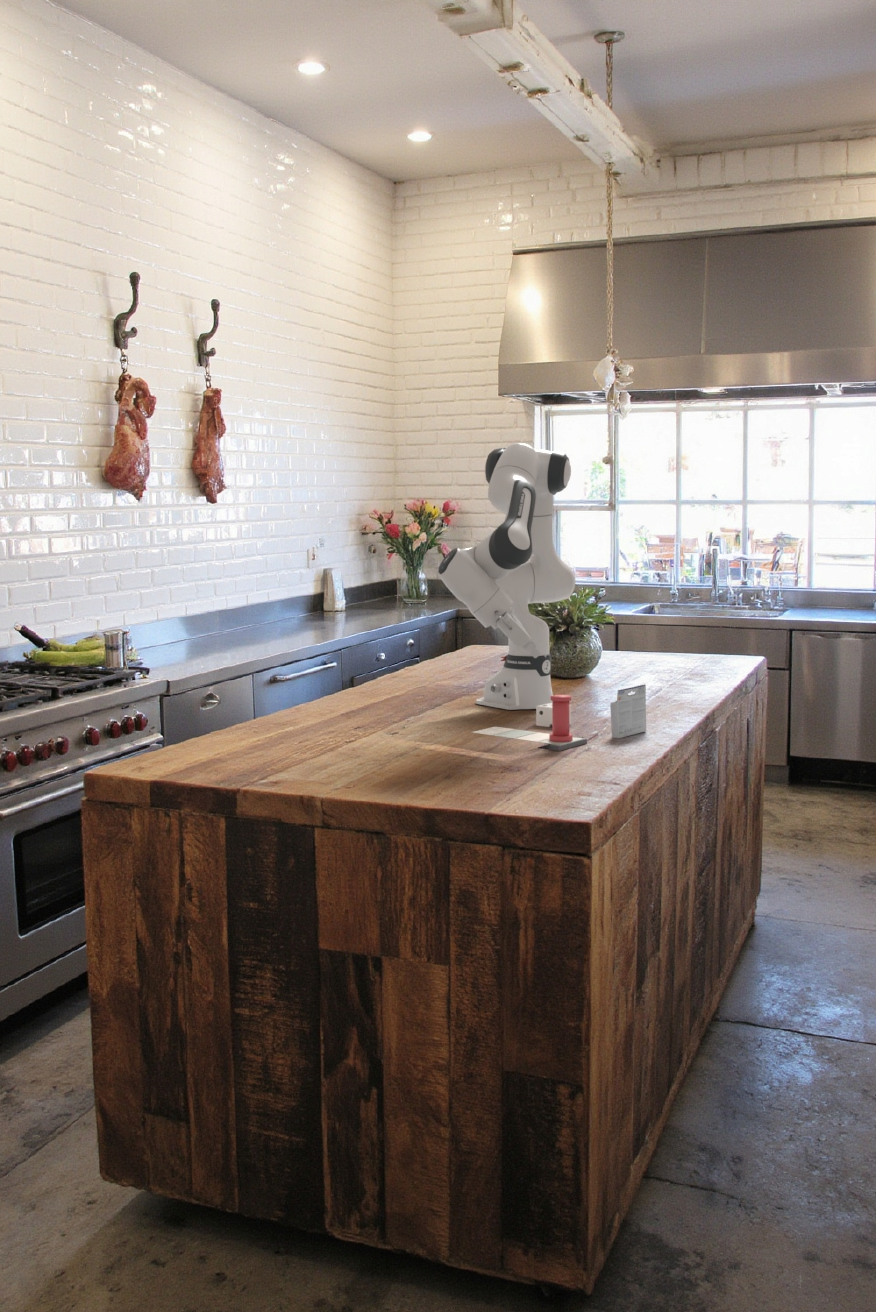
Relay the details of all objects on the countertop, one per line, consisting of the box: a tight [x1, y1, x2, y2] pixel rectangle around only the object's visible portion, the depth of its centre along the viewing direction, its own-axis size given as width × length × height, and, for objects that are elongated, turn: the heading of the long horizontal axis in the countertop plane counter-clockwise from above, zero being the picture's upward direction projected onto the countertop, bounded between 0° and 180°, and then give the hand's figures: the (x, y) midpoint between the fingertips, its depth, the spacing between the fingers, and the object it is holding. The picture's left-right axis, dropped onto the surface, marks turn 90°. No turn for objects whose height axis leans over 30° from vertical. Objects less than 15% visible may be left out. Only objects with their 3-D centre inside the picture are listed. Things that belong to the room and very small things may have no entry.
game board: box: [471, 726, 588, 752], centre depth 268 cm, size 26×11×1 cm, turn 49°
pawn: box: [549, 694, 574, 742], centre depth 261 cm, size 5×5×10 cm
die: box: [535, 703, 572, 728], centre depth 281 cm, size 6×6×6 cm
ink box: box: [610, 684, 647, 740], centre depth 272 cm, size 12×2×12 cm, turn 135°
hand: (535, 652), depth 265 cm, fingers open, 8 cm apart
